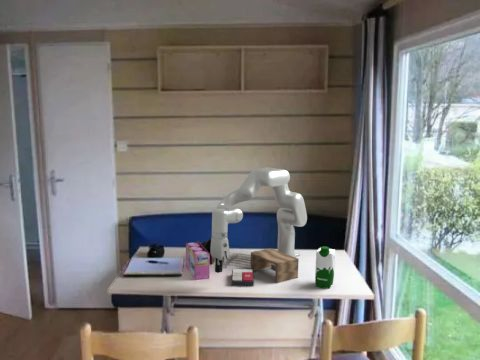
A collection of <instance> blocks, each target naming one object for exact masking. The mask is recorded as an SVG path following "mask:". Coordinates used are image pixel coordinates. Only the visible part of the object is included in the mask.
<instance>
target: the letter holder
mask: <svg viewBox="0 0 480 360" xmlns="http://www.w3.org/2000/svg"><path fill="white" fill-rule="evenodd" d="M211 239H212V237H211V238H209V239H207V241H206V240H204V241H202V242H200V243H201V245H202V246H203V247H204V248H205V249H206V250H207V251H208V252H209V254H210V265H213V264H215V262H214V258H213V257H212V255H211V253H210V248H211Z"/></svg>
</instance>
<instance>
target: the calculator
mask: <svg viewBox="0 0 480 360" xmlns="http://www.w3.org/2000/svg"><path fill="white" fill-rule="evenodd" d="M254 278H255V277H254V271H253V270H252V269H249V268H248V269H246V268H244V269H242V268H239V269H238V268H233V269H231V279H230V280H231V283H230V286H231V287H254V283H255V280H254Z"/></svg>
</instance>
